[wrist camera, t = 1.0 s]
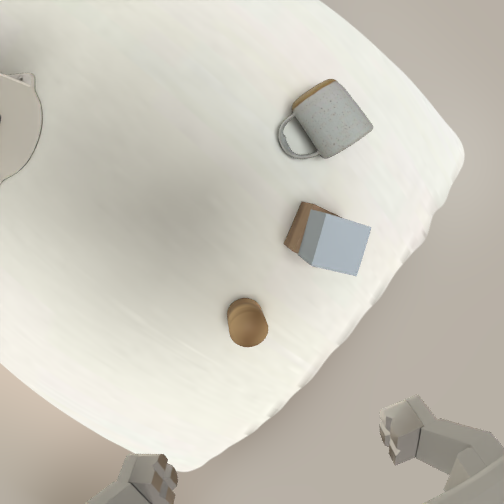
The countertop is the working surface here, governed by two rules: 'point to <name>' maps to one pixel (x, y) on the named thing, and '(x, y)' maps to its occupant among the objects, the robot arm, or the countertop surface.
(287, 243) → the walnut base block
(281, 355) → the countertop surface
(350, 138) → the ceramic mug
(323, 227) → the slate upper block
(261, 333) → the oak cylinder
